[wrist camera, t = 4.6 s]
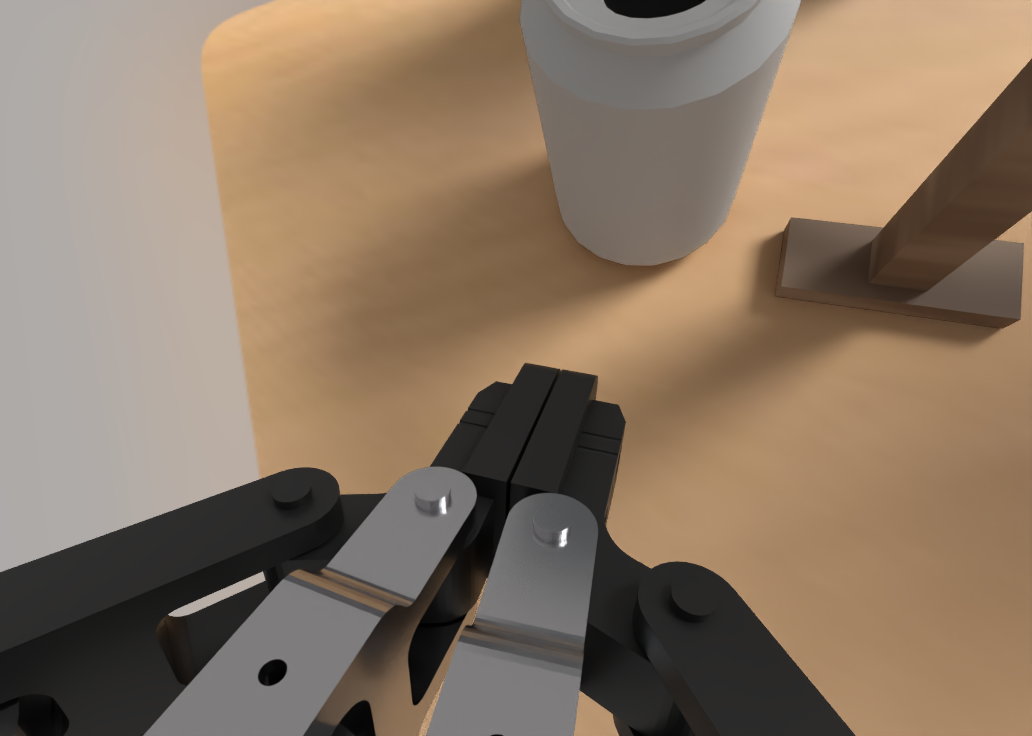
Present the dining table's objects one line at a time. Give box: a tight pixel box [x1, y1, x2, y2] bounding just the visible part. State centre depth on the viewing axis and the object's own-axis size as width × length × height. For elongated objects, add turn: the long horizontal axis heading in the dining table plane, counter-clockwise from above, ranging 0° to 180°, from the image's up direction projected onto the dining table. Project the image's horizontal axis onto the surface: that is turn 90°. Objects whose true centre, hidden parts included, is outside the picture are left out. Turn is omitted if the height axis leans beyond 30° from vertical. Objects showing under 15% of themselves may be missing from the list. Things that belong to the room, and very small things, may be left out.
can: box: [520, 0, 801, 266], centre depth 20 cm, size 8×8×12 cm
